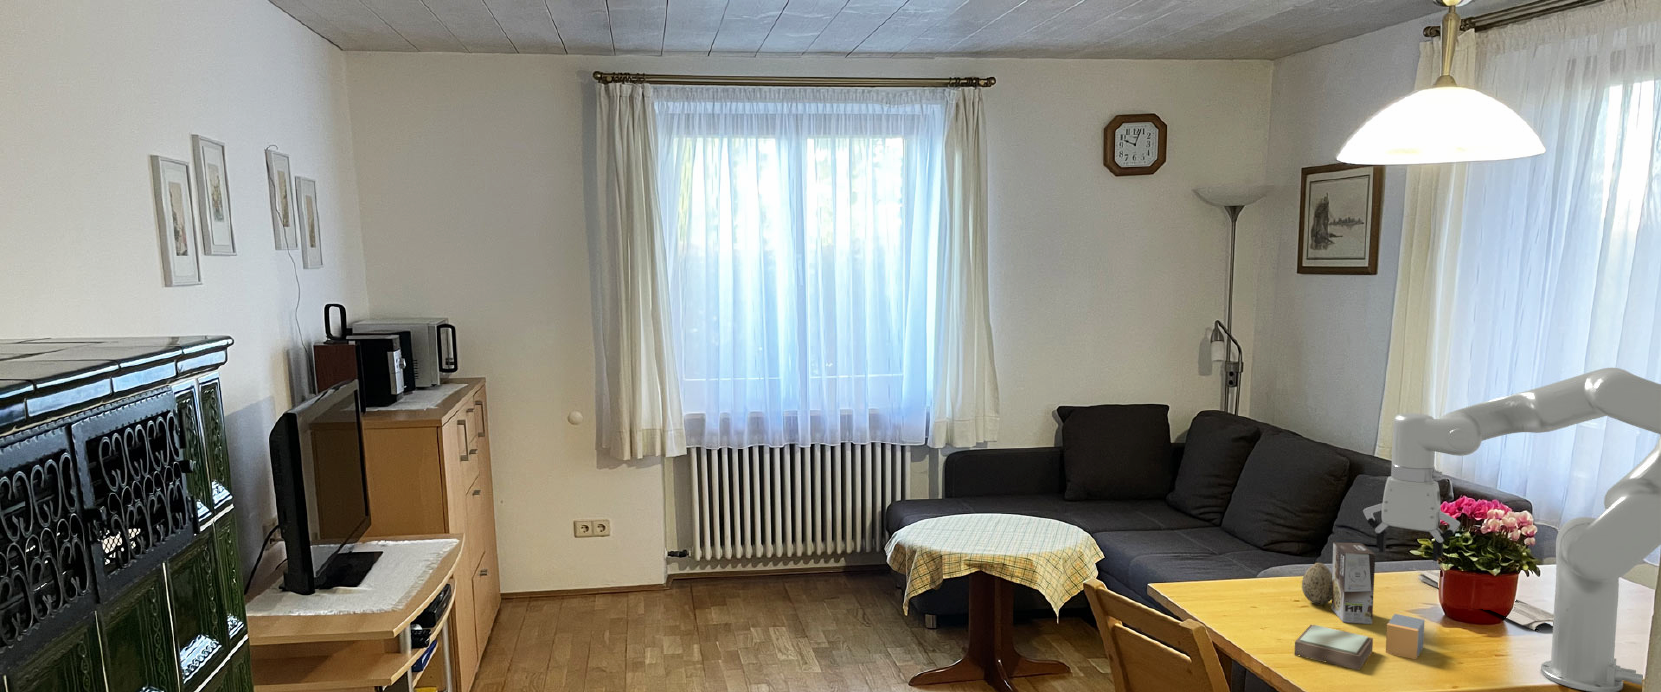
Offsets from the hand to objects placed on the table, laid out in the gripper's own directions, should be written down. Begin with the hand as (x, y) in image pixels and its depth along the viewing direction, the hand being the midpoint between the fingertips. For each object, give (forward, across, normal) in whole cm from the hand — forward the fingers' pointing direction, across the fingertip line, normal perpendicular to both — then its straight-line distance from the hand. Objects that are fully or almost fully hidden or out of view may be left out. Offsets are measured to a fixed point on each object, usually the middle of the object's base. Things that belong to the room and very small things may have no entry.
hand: (1408, 555), depth 201 cm
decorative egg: (+20, +21, -18) cm, 34 cm away
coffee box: (+20, +13, -14) cm, 28 cm away
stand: (+20, +11, +11) cm, 26 cm away
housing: (+20, 0, 0) cm, 20 cm away
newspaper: (+21, -9, -43) cm, 49 cm away
